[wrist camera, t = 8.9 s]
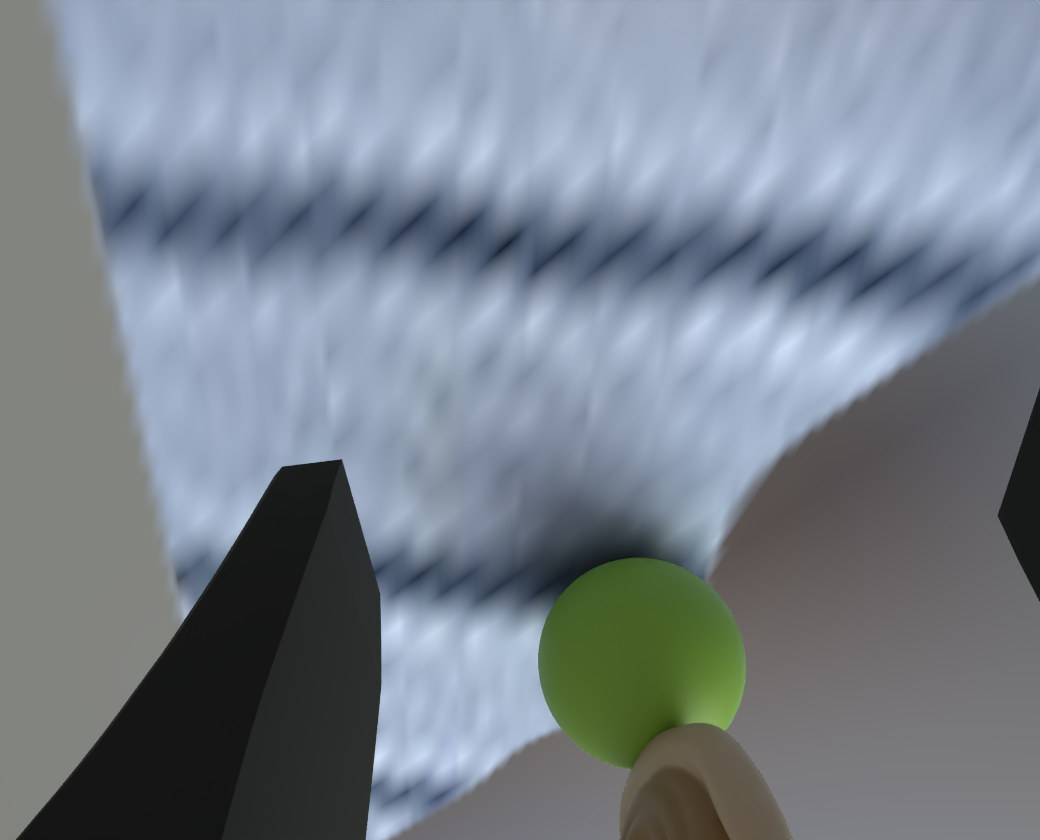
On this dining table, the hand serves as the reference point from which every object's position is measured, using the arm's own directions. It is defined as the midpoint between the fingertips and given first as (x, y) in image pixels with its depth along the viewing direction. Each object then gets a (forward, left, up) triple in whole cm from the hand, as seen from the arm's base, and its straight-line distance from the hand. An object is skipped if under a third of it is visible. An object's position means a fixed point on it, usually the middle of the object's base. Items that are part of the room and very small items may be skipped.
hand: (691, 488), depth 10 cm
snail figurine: (-1, +13, -11) cm, 17 cm away
